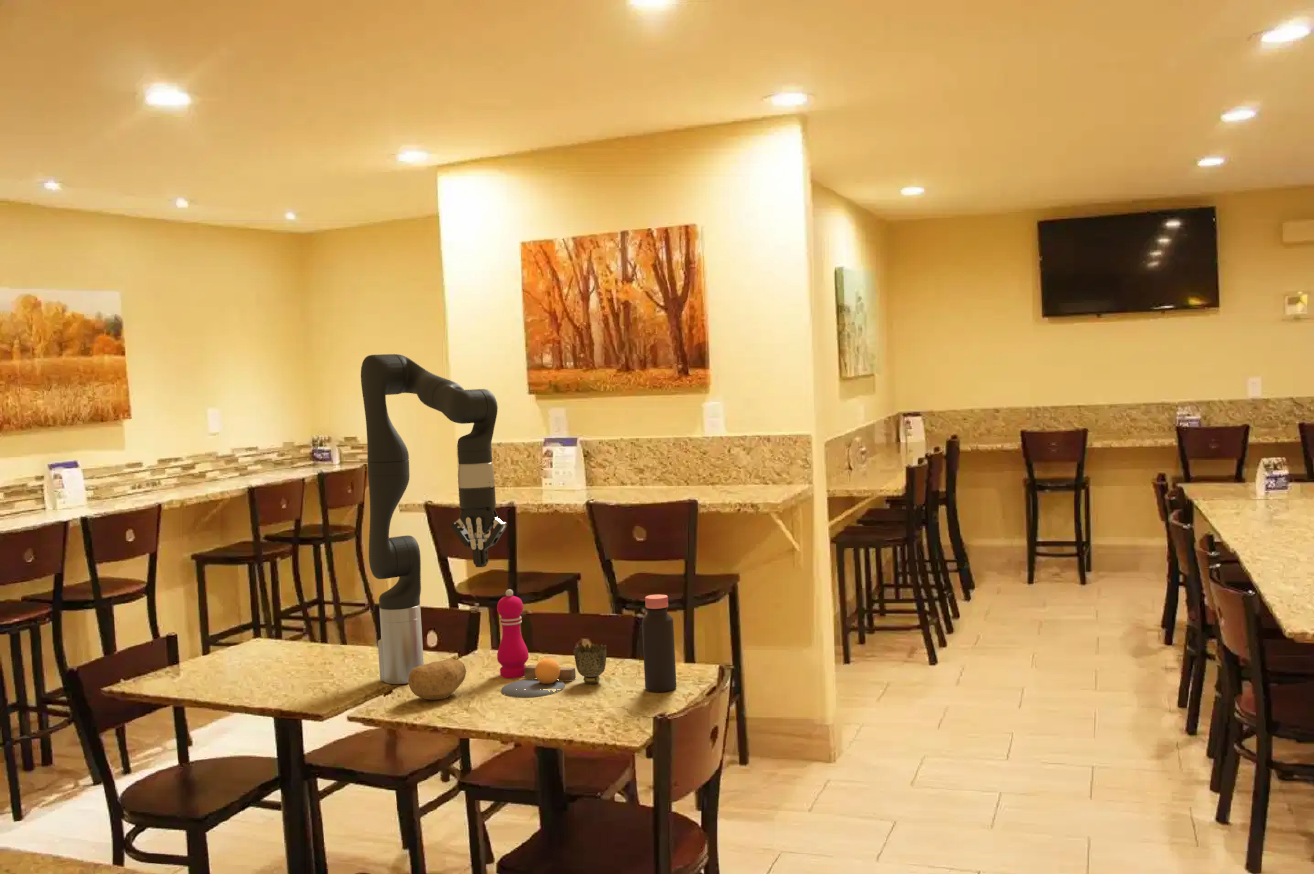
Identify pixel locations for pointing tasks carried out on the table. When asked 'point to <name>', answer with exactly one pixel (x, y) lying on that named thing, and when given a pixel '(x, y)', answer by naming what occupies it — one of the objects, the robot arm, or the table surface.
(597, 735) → the table surface
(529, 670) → the strip
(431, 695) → the potato
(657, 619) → the bottle
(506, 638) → the pepper mill
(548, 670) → the ball
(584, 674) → the cup
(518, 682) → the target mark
